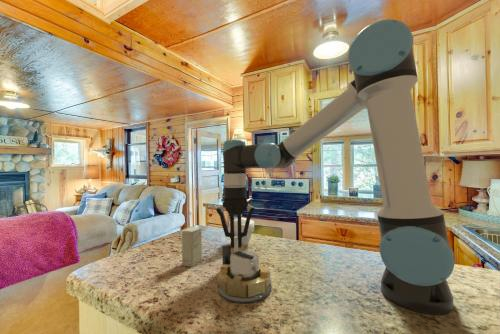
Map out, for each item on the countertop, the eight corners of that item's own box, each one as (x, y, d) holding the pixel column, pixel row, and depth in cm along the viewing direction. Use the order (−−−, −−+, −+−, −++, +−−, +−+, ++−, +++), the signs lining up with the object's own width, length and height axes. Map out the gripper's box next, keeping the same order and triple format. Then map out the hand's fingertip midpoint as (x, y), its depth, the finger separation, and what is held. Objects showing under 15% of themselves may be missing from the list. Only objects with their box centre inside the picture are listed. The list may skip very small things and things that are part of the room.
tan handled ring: (278, 287, 61) (278, 263, 61) (232, 302, 55) (232, 275, 55) (243, 260, 80) (242, 241, 80) (205, 268, 73) (205, 248, 73)
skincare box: (192, 267, 78) (192, 231, 78) (181, 265, 79) (181, 230, 79) (202, 260, 84) (202, 227, 84) (191, 258, 85) (191, 226, 85)
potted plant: (240, 250, 94) (239, 189, 94) (223, 243, 102) (223, 187, 102) (261, 243, 102) (261, 187, 102) (244, 237, 111) (244, 186, 111)
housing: (282, 286, 65) (281, 252, 65) (245, 311, 53) (245, 270, 54) (244, 271, 75) (243, 241, 75) (206, 289, 64) (206, 255, 64)
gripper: (253, 185, 80) (255, 252, 80) (217, 186, 80) (218, 253, 80) (254, 186, 73) (256, 261, 72) (214, 187, 72) (215, 262, 72)
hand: (236, 257), depth 76 cm, fingers closed
